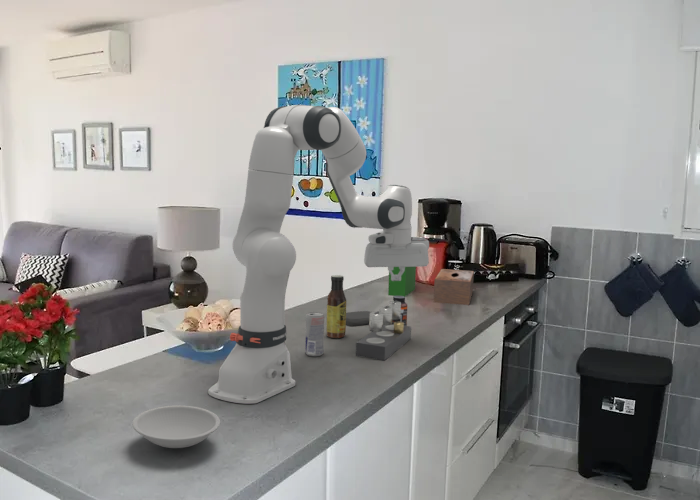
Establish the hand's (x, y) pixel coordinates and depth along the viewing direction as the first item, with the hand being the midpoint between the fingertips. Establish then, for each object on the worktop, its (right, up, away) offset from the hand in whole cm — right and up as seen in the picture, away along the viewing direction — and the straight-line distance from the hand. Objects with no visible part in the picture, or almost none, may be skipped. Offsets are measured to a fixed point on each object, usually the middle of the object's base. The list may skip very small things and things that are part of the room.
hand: (396, 280), depth 182 cm
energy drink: (-25, -21, -13) cm, 35 cm away
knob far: (0, -12, +2) cm, 12 cm away
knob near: (-7, -14, -13) cm, 20 cm away
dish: (-48, -29, -70) cm, 89 cm away
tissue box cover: (+30, -11, +67) cm, 75 cm away
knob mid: (-4, -13, -6) cm, 15 cm away
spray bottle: (-7, -16, +27) cm, 32 cm away
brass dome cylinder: (+1, -16, -3) cm, 16 cm away
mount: (-4, -20, -5) cm, 21 cm away
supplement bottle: (+2, -18, +16) cm, 24 cm away
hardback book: (+9, -9, +74) cm, 76 cm away
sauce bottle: (-19, -19, +5) cm, 27 cm away
